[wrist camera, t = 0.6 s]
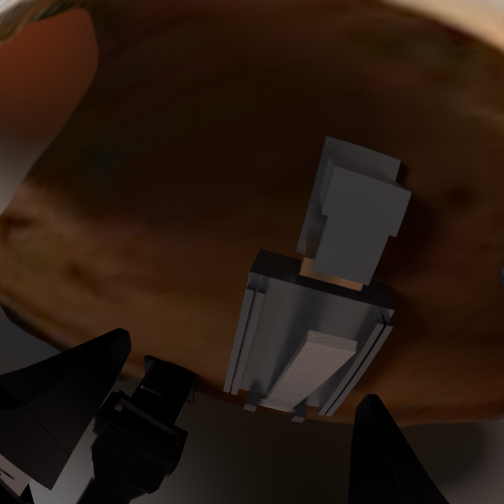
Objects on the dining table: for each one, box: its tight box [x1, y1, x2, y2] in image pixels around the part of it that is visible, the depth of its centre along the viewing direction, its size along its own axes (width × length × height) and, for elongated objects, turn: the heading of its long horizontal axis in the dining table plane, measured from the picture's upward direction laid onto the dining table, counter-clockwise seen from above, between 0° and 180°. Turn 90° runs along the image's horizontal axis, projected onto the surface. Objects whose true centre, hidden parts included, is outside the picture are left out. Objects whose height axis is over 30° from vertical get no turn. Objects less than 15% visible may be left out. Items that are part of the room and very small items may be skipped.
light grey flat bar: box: [264, 330, 357, 410], centre depth 17 cm, size 14×2×1 cm, turn 169°
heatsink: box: [223, 241, 395, 423], centre depth 20 cm, size 15×10×5 cm, turn 169°
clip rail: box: [296, 136, 401, 254], centre depth 17 cm, size 8×5×1 cm, turn 169°
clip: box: [312, 158, 412, 285], centre depth 15 cm, size 5×4×4 cm
